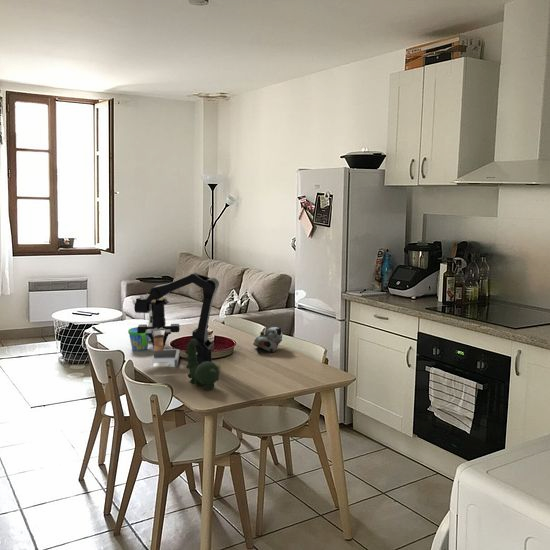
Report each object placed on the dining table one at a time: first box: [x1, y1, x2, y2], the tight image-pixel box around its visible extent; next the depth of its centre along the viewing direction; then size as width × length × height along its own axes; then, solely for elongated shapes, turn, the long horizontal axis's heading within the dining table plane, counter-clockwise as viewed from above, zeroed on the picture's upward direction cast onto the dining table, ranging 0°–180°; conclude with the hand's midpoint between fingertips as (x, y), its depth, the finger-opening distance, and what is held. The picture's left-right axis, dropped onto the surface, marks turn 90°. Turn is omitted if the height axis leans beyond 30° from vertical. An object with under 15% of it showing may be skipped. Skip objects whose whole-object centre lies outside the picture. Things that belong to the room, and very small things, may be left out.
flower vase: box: [131, 293, 169, 342], centre depth 319 cm, size 13×18×25 cm
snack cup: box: [127, 326, 150, 352], centre depth 303 cm, size 16×10×10 cm
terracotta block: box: [153, 334, 165, 352], centre depth 283 cm, size 4×6×6 cm, turn 6°
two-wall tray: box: [149, 348, 180, 369], centre depth 283 cm, size 12×18×3 cm, turn 6°
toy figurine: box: [184, 338, 220, 390], centre depth 251 cm, size 9×19×25 cm
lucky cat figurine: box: [252, 326, 284, 353], centre depth 302 cm, size 15×12×14 cm
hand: (159, 346), depth 283 cm, fingers closed on terracotta block, 4 cm apart
